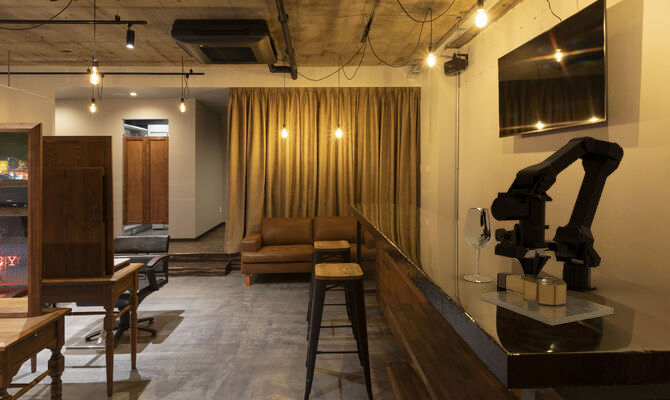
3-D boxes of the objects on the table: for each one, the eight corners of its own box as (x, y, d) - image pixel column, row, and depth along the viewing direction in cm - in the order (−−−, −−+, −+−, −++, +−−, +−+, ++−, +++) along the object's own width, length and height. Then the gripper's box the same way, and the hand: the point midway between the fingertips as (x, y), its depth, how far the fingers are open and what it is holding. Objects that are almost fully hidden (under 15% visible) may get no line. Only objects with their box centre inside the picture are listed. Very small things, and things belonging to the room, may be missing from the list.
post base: (537, 291, 95) (537, 267, 94) (613, 313, 78) (614, 285, 78) (481, 299, 88) (481, 273, 87) (551, 325, 71) (552, 293, 71)
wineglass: (491, 277, 109) (493, 208, 108) (493, 284, 102) (495, 209, 101) (463, 275, 111) (464, 207, 111) (462, 281, 104) (464, 208, 103)
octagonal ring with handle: (514, 284, 95) (515, 266, 95) (573, 302, 81) (574, 280, 80) (490, 287, 92) (490, 268, 91) (547, 306, 78) (547, 284, 77)
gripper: (530, 216, 104) (528, 273, 104) (478, 218, 96) (476, 279, 97) (569, 220, 93) (567, 282, 94) (514, 222, 86) (513, 290, 86)
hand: (530, 283), depth 93 cm, fingers closed
